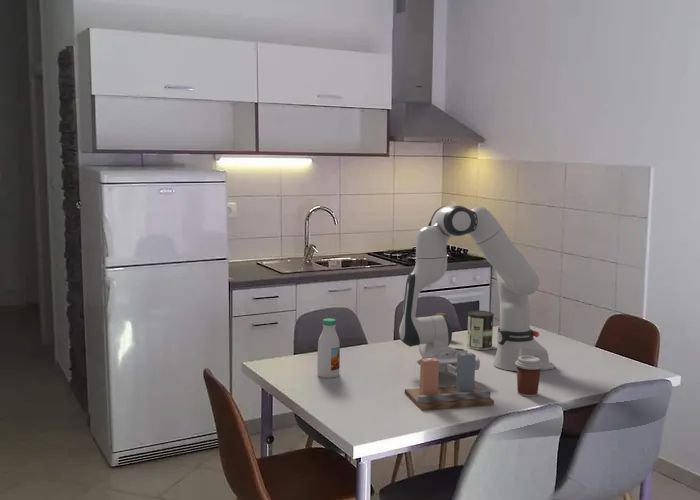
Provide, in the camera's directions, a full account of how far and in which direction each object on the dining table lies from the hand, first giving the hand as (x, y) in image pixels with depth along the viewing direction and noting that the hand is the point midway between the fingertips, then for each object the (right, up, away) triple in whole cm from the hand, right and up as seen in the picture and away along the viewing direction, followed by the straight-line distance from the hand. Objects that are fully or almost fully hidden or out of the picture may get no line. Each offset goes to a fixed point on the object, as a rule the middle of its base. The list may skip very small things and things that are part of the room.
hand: (458, 370), depth 244 cm
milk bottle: (-44, -4, +14) cm, 46 cm away
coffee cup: (+22, -7, -2) cm, 24 cm away
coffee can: (+17, 0, +55) cm, 58 cm away
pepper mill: (+2, +2, +67) cm, 67 cm away
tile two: (+1, -6, -4) cm, 7 cm away
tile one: (-11, -6, -11) cm, 17 cm away
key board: (-5, -8, -9) cm, 13 cm away
